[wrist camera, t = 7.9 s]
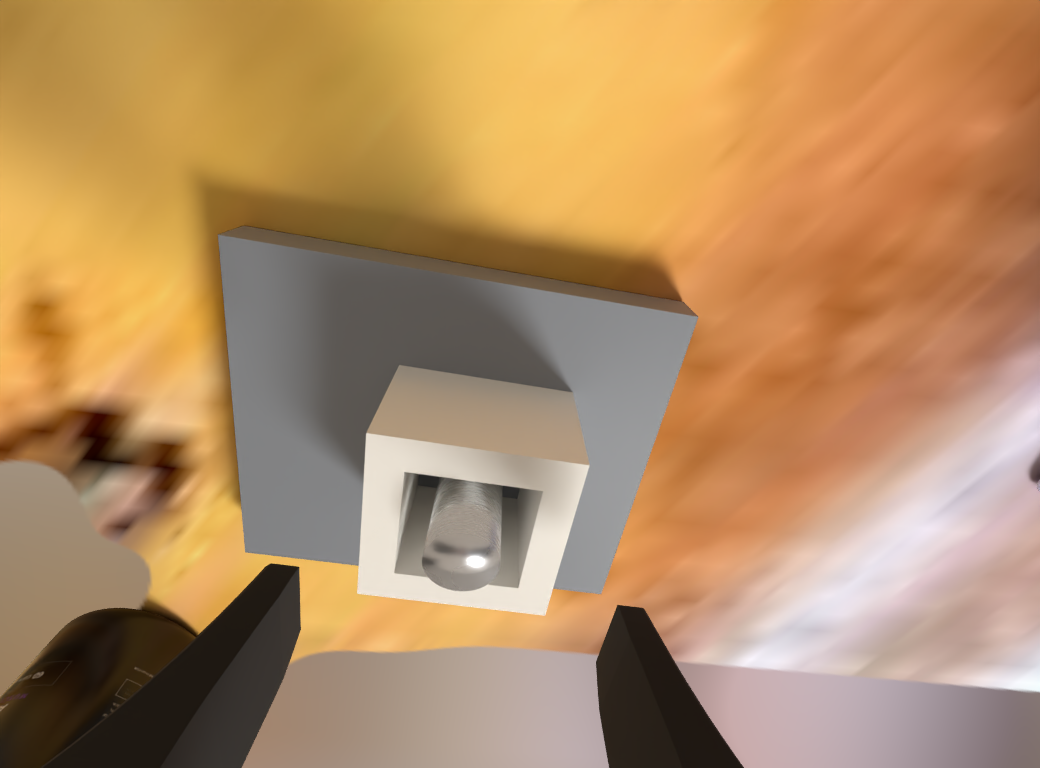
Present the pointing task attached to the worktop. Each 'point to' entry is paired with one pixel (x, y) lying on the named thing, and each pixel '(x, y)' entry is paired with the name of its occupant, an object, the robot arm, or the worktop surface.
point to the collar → (473, 457)
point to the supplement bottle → (82, 680)
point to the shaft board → (440, 347)
